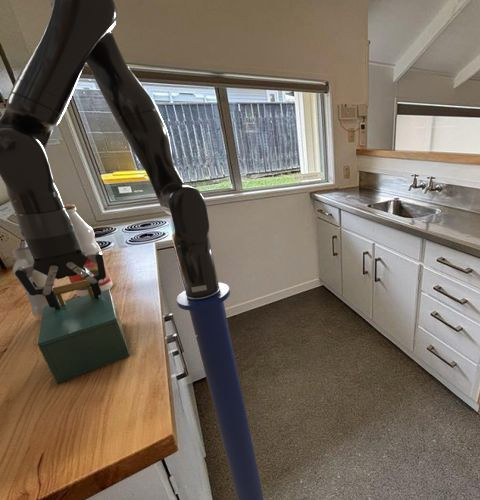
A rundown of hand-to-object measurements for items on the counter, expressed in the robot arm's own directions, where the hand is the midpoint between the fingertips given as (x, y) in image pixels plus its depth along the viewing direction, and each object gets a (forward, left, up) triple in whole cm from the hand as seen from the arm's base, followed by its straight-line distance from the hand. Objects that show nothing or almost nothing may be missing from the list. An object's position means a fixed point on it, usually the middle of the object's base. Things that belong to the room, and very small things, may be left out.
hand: (77, 302), depth 65 cm
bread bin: (+5, +3, -10) cm, 12 cm away
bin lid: (+5, +3, -1) cm, 5 cm away
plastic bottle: (-14, -17, -10) cm, 24 cm away
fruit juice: (-29, -15, -10) cm, 34 cm away
